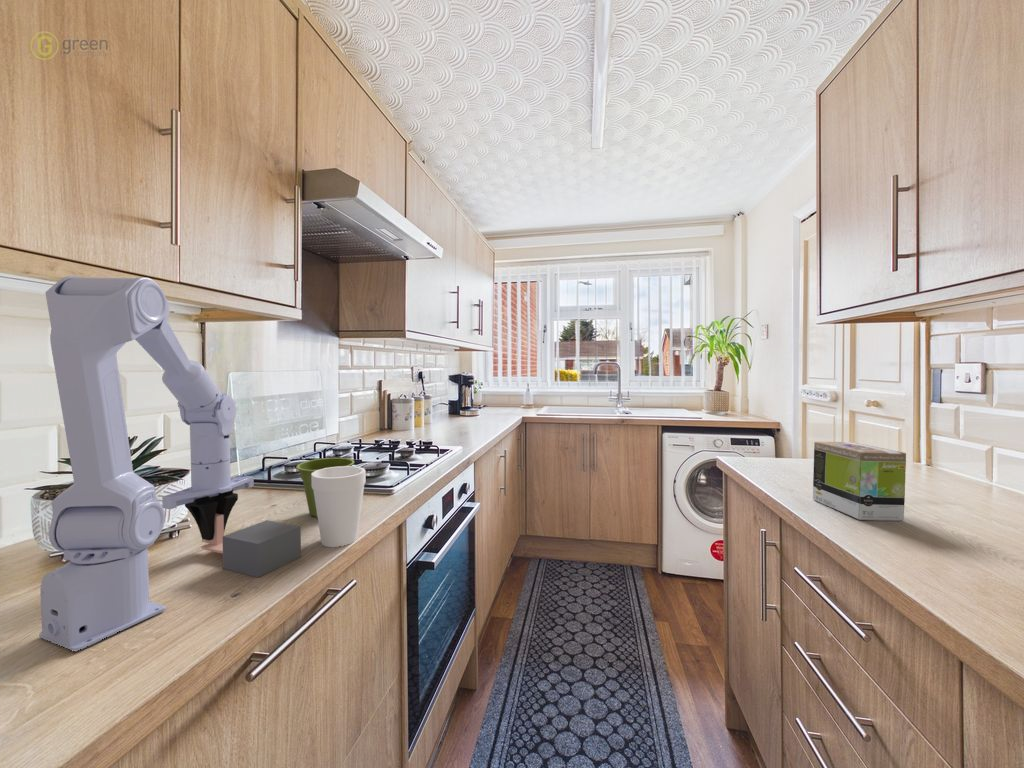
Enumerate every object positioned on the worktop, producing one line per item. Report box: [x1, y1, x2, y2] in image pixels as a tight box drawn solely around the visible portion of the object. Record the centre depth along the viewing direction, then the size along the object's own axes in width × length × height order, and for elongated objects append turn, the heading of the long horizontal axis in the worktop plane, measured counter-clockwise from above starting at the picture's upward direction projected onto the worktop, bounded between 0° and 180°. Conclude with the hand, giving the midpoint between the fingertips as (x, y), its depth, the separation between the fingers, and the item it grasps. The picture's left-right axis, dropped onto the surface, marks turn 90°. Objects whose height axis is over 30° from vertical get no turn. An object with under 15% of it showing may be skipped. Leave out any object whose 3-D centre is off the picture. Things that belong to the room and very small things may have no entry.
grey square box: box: [222, 519, 302, 578], centre depth 72 cm, size 8×8×5 cm
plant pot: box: [296, 457, 355, 518], centre depth 97 cm, size 12×12×11 cm
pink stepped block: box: [201, 513, 225, 555], centre depth 75 cm, size 4×10×5 cm, turn 69°
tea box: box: [812, 441, 907, 522], centre depth 99 cm, size 15×10×15 cm
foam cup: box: [311, 465, 367, 548], centre depth 81 cm, size 10×9×13 cm
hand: (212, 537), depth 76 cm, fingers closed on pink stepped block
